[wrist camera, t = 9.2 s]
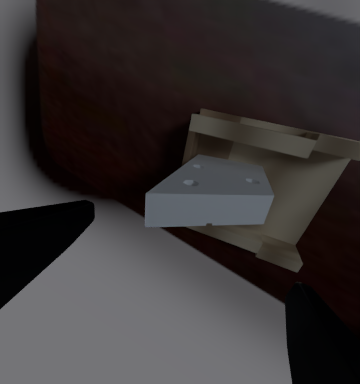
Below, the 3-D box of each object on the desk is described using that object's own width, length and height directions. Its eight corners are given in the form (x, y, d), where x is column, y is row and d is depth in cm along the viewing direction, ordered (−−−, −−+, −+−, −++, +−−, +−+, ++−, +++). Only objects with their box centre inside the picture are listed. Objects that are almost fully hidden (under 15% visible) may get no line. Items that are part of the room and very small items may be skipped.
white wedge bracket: (144, 150, 15) (145, 193, 8) (244, 157, 17) (324, 196, 10) (143, 187, 17) (143, 255, 9) (235, 190, 19) (299, 246, 11)
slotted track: (353, 140, 13) (387, 146, 10) (287, 247, 18) (296, 273, 15) (203, 109, 16) (193, 106, 13) (180, 209, 20) (169, 225, 17)
